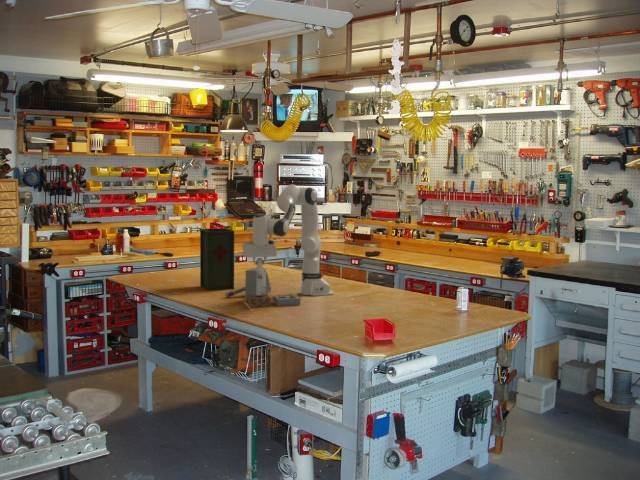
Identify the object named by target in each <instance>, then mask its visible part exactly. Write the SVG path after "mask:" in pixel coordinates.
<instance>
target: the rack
mask: <svg viewBox="0 0 640 480" xmlns="http://www.w3.org/2000/svg"><path fill="white" fill-rule="evenodd" d="M247 305H248V307H249V308H250V309H251V310H252V309H253V308H261V307H263V308H264V307H267V308H268V307H272V297H271V296H270V295H269V294H266V295H248V301H247Z"/></svg>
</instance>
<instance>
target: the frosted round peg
mask: <svg viewBox="0 0 640 480" xmlns="http://www.w3.org/2000/svg"><path fill="white" fill-rule="evenodd" d="M256 261H257V265H256V267H257V278H262V268H263V264H262V261H263V257H256Z"/></svg>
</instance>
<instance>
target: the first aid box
mask: <svg viewBox="0 0 640 480" xmlns="http://www.w3.org/2000/svg"><path fill="white" fill-rule="evenodd" d="M199 231H200V232H199V235H200V236H199V237H200V239H199V240H200V244H199V250H200V252H199V253H200V255H199V256H200V259H199V260H200V261H199V262H200V266H199V267H200V268H199V269H200V271H199V272H200V273H199V274H200V275H199V277H200V281H199V282H200V284H199V287H200V288H202V287H203V288H202V289H204V290H206V291H208V292H211V291H212V292H213V291H225V290H226V291H228V290H235V230H232V229H229V228H225V227H224V228H200V230H199Z"/></svg>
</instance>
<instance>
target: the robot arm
mask: <svg viewBox="0 0 640 480" xmlns="http://www.w3.org/2000/svg"><path fill="white" fill-rule="evenodd" d="M317 200H318V192H317V190H316V189H315V188H314V187H310V186H308V187H298V186H297V185H295V184H294V183H293V184H288V185H287V186H286V187H284V189H283V190H282V191H281V192H280V193H279V195H278V197H277V199H276V206H277V207H278V209H279V210H280V211H282V212H284V214H283V216H282V218H279V219H276V218H269V217H268V216H267V214H266V213H257V214H255V215H254V216H253V218H252V236H251V237H252V239H251V240H250V241H244V242H243V243H242V257H243V258H252V260H253V262H254V265H255V266H257V258H263V259H262V265H266V261H267V259H268V257H270V258H271V257H275V258H276V256H277V255H278V254H277V253H278V252H277V246H276V241H275V240H274V239H270V238H268V235H269V236H277V237H281V238H282V237H284V236H285V235H286V234H287V233H288V231H289V228H290V224H291V222H292V220H293V218H294V215H295V213H296V206H297V205H299V206H300V208H301V209H300V214H301V215H300V217H301V235H300V236H301V237H300V238H301V241H300V247H301V250H302V251H303V258H302V271H301V285H300V286H301V287H300V291H299V294H300V295H304V296H305V295H306V296H312V297H313V296H314V297H315V296H316V297H318V296H319V297H320V296H328V295H329V296H330V295H334V293H335V292H334V291H333V290H331V285H330V283H328V281H327V280H325V279H324V276H325V274H324V273H321V272H320V260H321V250H322V240H321V238H320V236H319V226H320V225H319V212H318V204H317Z"/></svg>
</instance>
